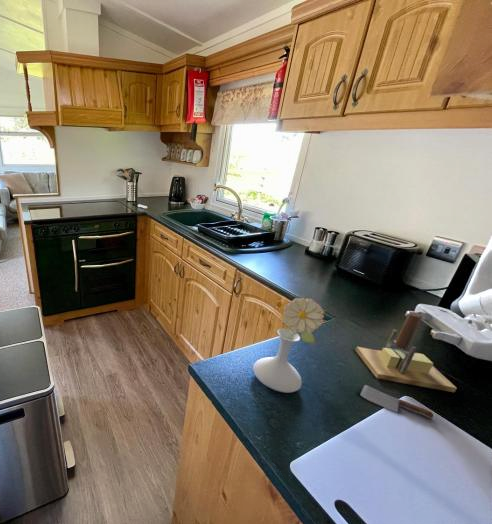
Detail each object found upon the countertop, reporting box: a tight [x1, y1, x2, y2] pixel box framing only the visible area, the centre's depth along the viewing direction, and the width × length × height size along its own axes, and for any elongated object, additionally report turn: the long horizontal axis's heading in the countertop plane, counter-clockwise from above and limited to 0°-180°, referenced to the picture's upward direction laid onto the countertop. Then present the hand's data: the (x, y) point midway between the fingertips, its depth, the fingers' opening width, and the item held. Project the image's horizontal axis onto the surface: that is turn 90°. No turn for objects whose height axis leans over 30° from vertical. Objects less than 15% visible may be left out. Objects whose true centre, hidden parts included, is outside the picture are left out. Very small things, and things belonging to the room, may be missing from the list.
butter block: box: [407, 351, 434, 374], centre depth 79 cm, size 7×4×4 cm, turn 78°
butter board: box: [355, 328, 458, 393], centre depth 79 cm, size 18×12×10 cm, turn 78°
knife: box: [390, 312, 422, 371], centre depth 78 cm, size 3×6×16 cm, turn 168°
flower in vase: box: [252, 297, 325, 394], centre depth 68 cm, size 13×11×25 cm
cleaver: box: [359, 384, 434, 419], centre depth 68 cm, size 13×2×5 cm
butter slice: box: [379, 347, 400, 368], centre depth 80 cm, size 2×4×4 cm, turn 168°
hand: (419, 323), depth 75 cm, fingers open, 8 cm apart
